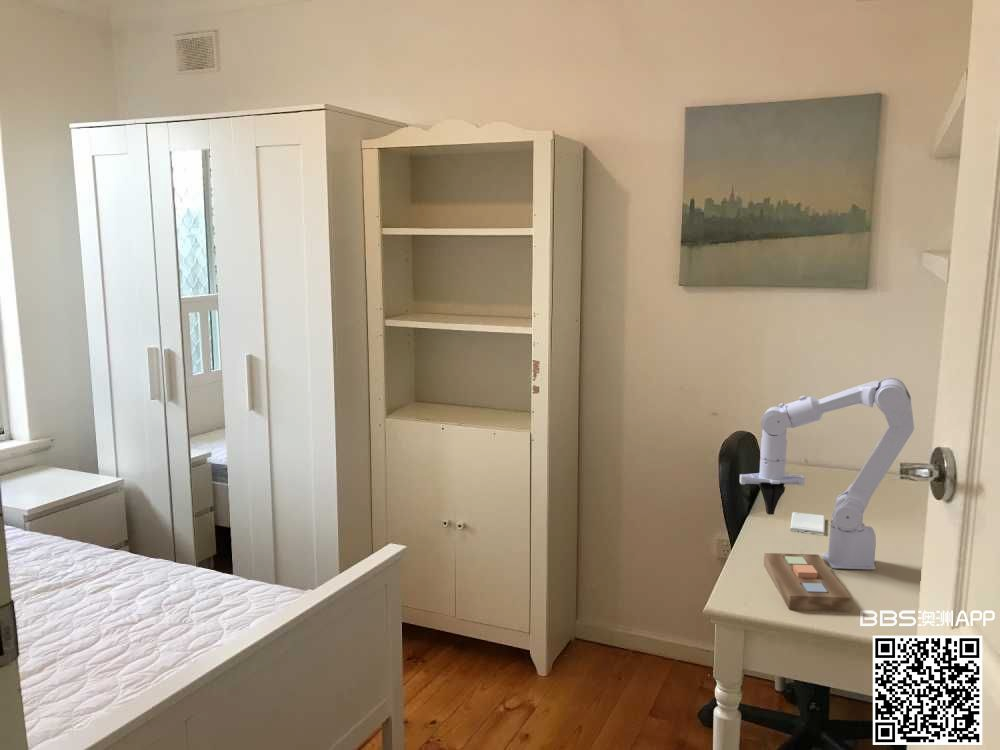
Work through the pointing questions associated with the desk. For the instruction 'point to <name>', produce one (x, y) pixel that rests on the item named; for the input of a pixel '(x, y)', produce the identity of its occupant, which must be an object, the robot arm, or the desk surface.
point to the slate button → (814, 588)
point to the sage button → (795, 560)
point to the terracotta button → (805, 571)
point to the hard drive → (808, 523)
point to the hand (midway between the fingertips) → (769, 513)
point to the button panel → (793, 587)
